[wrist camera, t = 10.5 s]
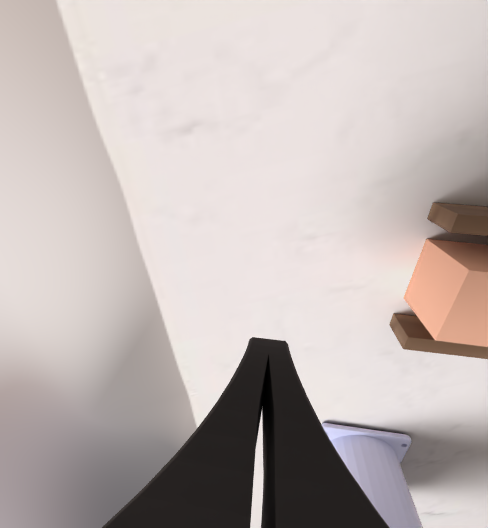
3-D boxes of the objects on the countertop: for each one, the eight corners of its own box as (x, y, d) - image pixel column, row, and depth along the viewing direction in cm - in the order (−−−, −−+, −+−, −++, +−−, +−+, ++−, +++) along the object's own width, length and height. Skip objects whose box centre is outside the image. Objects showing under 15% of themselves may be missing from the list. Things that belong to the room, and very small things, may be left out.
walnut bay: (483, 335, 19) (510, 361, 17) (389, 324, 20) (403, 349, 18) (553, 211, 16) (599, 224, 13) (433, 202, 16) (457, 214, 14)
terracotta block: (469, 304, 19) (519, 350, 15) (403, 297, 19) (435, 340, 15) (500, 245, 17) (567, 280, 13) (425, 238, 17) (469, 270, 13)
